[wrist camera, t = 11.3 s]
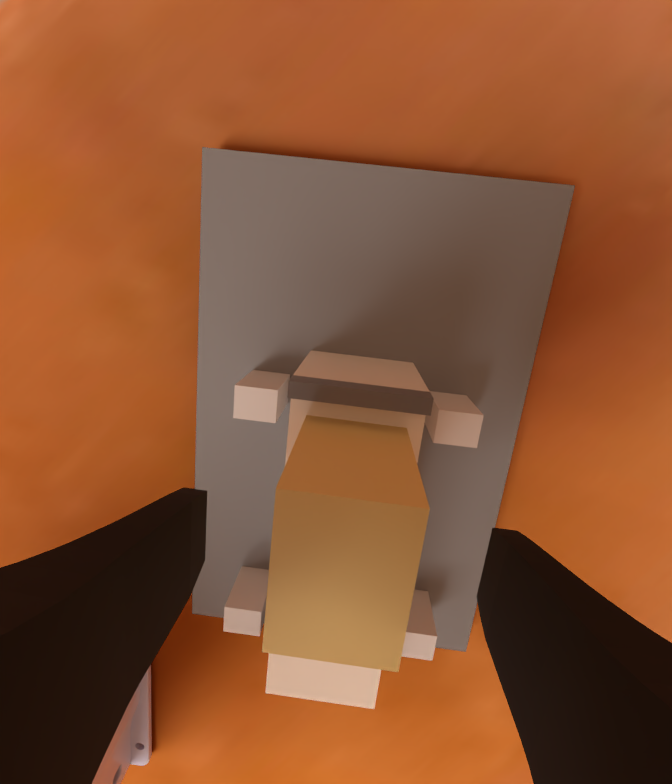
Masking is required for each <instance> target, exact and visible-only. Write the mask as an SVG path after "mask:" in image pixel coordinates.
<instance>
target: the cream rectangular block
mask: <svg viewBox="0 0 672 784" xmlns="http://www.w3.org/2000/svg"><path fill="white" fill-rule="evenodd" d="M287 398H291V401H290V413H289V425H288V436H287V448H286V460H285V465H286V463H287V460H288V458H289V456H290V453H291V451H292V448H293V446H294V444H295V441H296V439H297V436H298V434H299V432H300V429H301V427H302V424H303V422H304V420H305V417H306V415H311V416H319V417H327V418H334V419H342V420H350V421H357V422H365V423H373V424H381V425H388V426H396V427H404V428H407V430H408V434H409V437H410V441H411V444H412V448H413V451H414V455H415V458H416V462H417V463H418V457H419V451H420V446H421V440H422V434H423V428H424V423H425V417H426V415H428V416H431V411H432V405H433V400H434V398H433V396H432V395H431V393H430V391H429V389H428V388H427V386H426V384H425V383H424V381H423V379H422V377H421V376H420V374H419V372H418V370H417V369H416V367H415V365H414V363H412V362H404V361H395V360H387V359H379V358H371V357H362V356H354V355H346V354H337V353H329V352H321V351H313V350H311V351H310V352H309V353H308V355H307V356H306V358H305V359H304V360H303V362H302V363H301V364H300V366H299V367H298V369H297V370H296V371H295V373H294V374H293V375H292V377H291V378H290V380H289V383H288V395H287ZM380 674H381V670H379V669H372V668H366V667H359V666H352V665H345V664H338V663H332V662H325V661H318V660H311V659H304V658H298V657H291V656H284V655H277V654H271V653H269V658H268V669H267V681H266V693H268V694H274V695H281V696H288V697H295V698H302V699H308V700H315V701H322V702H329V703H336V704H342V705H349V706H356V707H363V708H370V709H374V708H375V703H376V697H377V691H378V685H379V680H380Z"/></svg>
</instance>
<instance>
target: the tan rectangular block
mask: <svg viewBox="0 0 672 784" xmlns="http://www.w3.org/2000/svg"><path fill="white" fill-rule="evenodd" d="M429 511H430V507H429V504H428V500H427V497H426V493H425V490H424V486H423V483H422V479H421V476H420V472H419V469H418V465H417V462H416V458H415V455H414V451H413V448H412V444H411V441H410V437H409V434H408V430H407V428H404V427H396V426H388V425H381V424H373V423H365V422H357V421H350V420H342V419H334V418H327V417H319V416H311V415H306V417H305V420H304V422H303V424H302V427H301V429H300V432H299V434H298V436H297V439H296V441H295V444H294V446H293V448H292V451H291V453H290V456H289V458H288V460H287V463H286V465H285V468H284V470H283V472H282V475H281V477H280V480H279V482H278V484H277V487H276V493H275V504H274V516H273V528H272V539H271V551H270V563H269V575H268V586H267V598H266V610H265V621H264V633H263V645H262V652H264V653H271V654H277V655H284V656H291V657H298V658H304V659H311V660H318V661H325V662H332V663H338V664H345V665H352V666H359V667H366V668H372V669H379V670H386V671H393V672H398V671H399V666H400V661H401V656H402V650H403V645H404V640H405V635H406V630H407V625H408V619H409V614H410V609H411V604H412V599H413V594H414V589H415V583H416V578H417V573H418V568H419V563H420V558H421V552H422V547H423V542H424V537H425V532H426V527H427V522H428V516H429Z"/></svg>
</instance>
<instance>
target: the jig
mask: <svg viewBox="0 0 672 784" xmlns="http://www.w3.org/2000/svg"><path fill="white" fill-rule="evenodd" d="M574 188H575V185H566V184H556V183H546V182H536V181H527V180H517V179H507V178H497V177H488V176H478V175H468V174H459V173H449V172H439V171H429V170H420V169H410V168H400V167H391V166H381V165H371V164H361V163H352V162H342V161H332V160H323V159H313V158H303V157H293V156H284V155H274V154H264V153H254V152H245V151H235V150H225V149H216V148H206V147H202V186H201V231H200V276H199V322H198V367H197V412H196V457H195V489H198V490H206V491H207V518H206V551H205V562H204V564H203V567H202V569H201V572H200V574H199V577H198V579H197V581H196V584H195V586H194V588H193V592H192V614H199V615H206V616H213V617H220V618H224V627H223V631H225V632H232V633H239V634H246V635H253V636H260V634H261V630H262V627H263V624H264V621H265V610H266V598H267V586H268V575H269V563H270V551H271V539H272V528H273V516H274V504H275V493H276V487H277V484H278V482H279V480H280V477H281V475H282V472H283V470H284V468H285V460H286V448H287V436H288V425H289V413H290V401H291V398H287V395H288V383H289V380H290V378H291V377H292V375H293V374H294V373H295V371H296V370H297V369H298V367H299V366H300V364H301V363H302V362H303V360H304V359H305V358H306V356H307V355H308V353H309V352H310V351H311V350H313V351H321V352H329V353H337V354H346V355H354V356H362V357H371V358H379V359H387V360H395V361H404V362H412V363H414V365H415V367H416V369H417V370H418V372H419V374H420V376H421V377H422V379H423V381H424V383H425V384H426V386H427V388H428V389H429V391H430V393H431V395H432V396H433V398H434V400H433V405H432V411H431V416H428V415H426V417H425V423H424V428H423V434H422V440H421V446H420V451H419V457H418V463H417V465H418V469H419V472H420V476H421V479H422V483H423V486H424V490H425V493H426V497H427V500H428V504H429V507H430V511H429V516H428V522H427V527H426V532H425V537H424V542H423V547H422V552H421V558H420V563H419V568H418V573H417V578H416V583H415V589H414V594H413V599H412V604H411V609H410V614H409V619H408V625H407V630H406V635H405V640H404V645H403V650H402V656H403V657H410V658H417V659H424V660H431V661H432V659H433V655H434V650H435V647H436V648H443V649H450V650H457V651H464V652H466V649H467V645H468V640H469V636H470V632H471V627H472V623H473V619H474V615H475V610H476V606H477V597H476V596H477V592H478V588H479V583H480V579H481V575H482V571H483V566H484V562H485V558H486V553H487V549H488V545H489V541H490V536H491V532H492V528H495V525H496V521H497V517H498V512H499V508H500V504H501V499H502V495H503V491H504V487H505V482H506V478H507V474H508V470H509V465H510V461H511V457H512V453H513V448H514V444H515V440H516V435H517V431H518V427H519V423H520V418H521V414H522V410H523V406H524V401H525V397H526V393H527V388H528V384H529V380H530V376H531V371H532V367H533V363H534V359H535V354H536V350H537V346H538V342H539V337H540V333H541V329H542V324H543V320H544V316H545V312H546V307H547V303H548V299H549V295H550V290H551V286H552V282H553V278H554V273H555V269H556V265H557V260H558V256H559V252H560V248H561V243H562V239H563V235H564V231H565V226H566V222H567V218H568V214H569V209H570V205H571V201H572V196H573V192H574Z"/></svg>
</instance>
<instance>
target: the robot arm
mask: <svg viewBox="0 0 672 784" xmlns="http://www.w3.org/2000/svg"><path fill="white" fill-rule="evenodd" d="M206 518H207V491H206V490H198V489H190V488H182V489H179V490H177V491H175V492H173V493H171V494H169V495H167V496H165V497H163V498H161V499H159V500H157V501H155V502H153V503H151V504H149V505H147V506H145V507H143V508H141V509H139V510H137V511H135V512H133V513H132V514H130V515H128V516H126V517H124V518H122V519H120V520H118V521H116V522H113V523H111V524H109V525H107V526H105V527H103V528H100V529H98V530H96V531H94V532H92V533H90V534H87V535H85V536H83V537H81V538H79V539H77V540H74V541H72V542H70V543H67V544H65V545H62V546H60V547H57V548H55V549H52V550H50V551H47V552H44V553H42V554H39V555H36V556H34V557H31V558H28V559H26V560H23V561H20V562H17V563H14V564H11V565H8V566H5V567H1V568H0V784H121V782H122V780H123V777H124V775H125V773H126V771H127V769H128V767H129V765H130V764H133V765H140V766H143V765H146V764H147V763H148V762H149V760H150V758H151V755H152V728H151V663H152V661H153V660H154V658H155V656H156V655H157V653H158V651H159V649H160V648H161V646H162V644H163V643H164V641H165V639H166V637H167V636H168V634H169V632H170V631H171V629H172V627H173V625H174V624H175V622H176V620H177V618H178V617H179V615H180V613H181V611H182V610H183V608H184V606H185V604H186V603H187V601H188V599H189V597H190V595H191V593H192V591H193V588H194V586H195V584H196V581H197V579H198V577H199V574H200V572H201V569H202V567H203V564H204V562H205V551H206ZM476 597H477V602H478V607H479V612H480V617H481V622H482V626H483V630H484V635H485V639H486V642H487V645H488V648H489V650H490V653H491V656H492V659H493V662H494V665H495V668H496V671H497V674H498V676H499V679H500V682H501V685H502V688H503V690H504V693H505V696H506V699H507V702H508V705H509V707H510V710H511V713H512V716H513V719H514V721H515V724H516V727H517V730H518V733H519V736H520V738H521V741H522V745H523V748H524V751H525V754H526V757H527V761H528V764H529V767H530V771H531V775H532V779H533V783H534V784H672V643H671V642H669V641H667V640H666V639H664V638H663V637H661V636H660V635H658V634H656V633H655V632H653V631H652V630H650V629H649V628H647V627H646V626H644V625H643V624H641V623H640V622H638V621H637V620H635V619H634V618H633V617H631V616H630V615H628V614H627V613H626V612H624V611H623V610H621V609H620V608H619V607H617V606H616V605H614V604H613V603H612V602H610V601H609V600H607V599H606V598H605V597H603V596H602V595H601V594H599V593H598V592H597V591H595V590H594V589H593V588H591V587H590V586H589V585H587V584H586V583H585V582H584V581H582V580H581V579H580V578H578V577H577V576H576V575H575V574H573V573H572V572H571V571H569V570H568V569H567V568H566V567H564V566H563V565H562V564H561V563H559V562H558V561H557V560H556V559H554V558H553V557H552V556H551V555H549V554H548V553H547V552H546V551H544V550H543V549H542V548H540V547H539V546H538V545H537V544H535V543H534V542H533V541H531V540H530V539H529V538H527V537H526V536H524V535H523V534H521V533H520V532H518V531H514V530H507V529H499V528H492V532H491V536H490V541H489V545H488V549H487V553H486V558H485V562H484V566H483V571H482V575H481V579H480V583H479V588H478V592H477V596H476Z"/></svg>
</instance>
